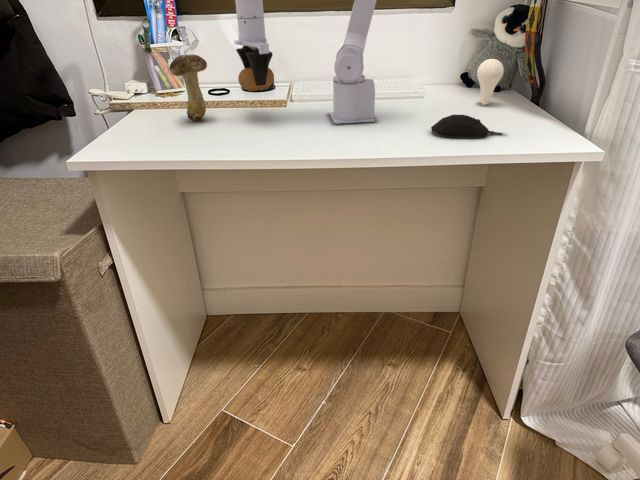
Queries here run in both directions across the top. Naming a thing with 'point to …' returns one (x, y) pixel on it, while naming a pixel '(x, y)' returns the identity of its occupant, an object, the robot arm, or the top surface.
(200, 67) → the mushroom
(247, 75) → the potato
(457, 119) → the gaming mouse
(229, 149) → the top surface
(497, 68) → the lightbulb
